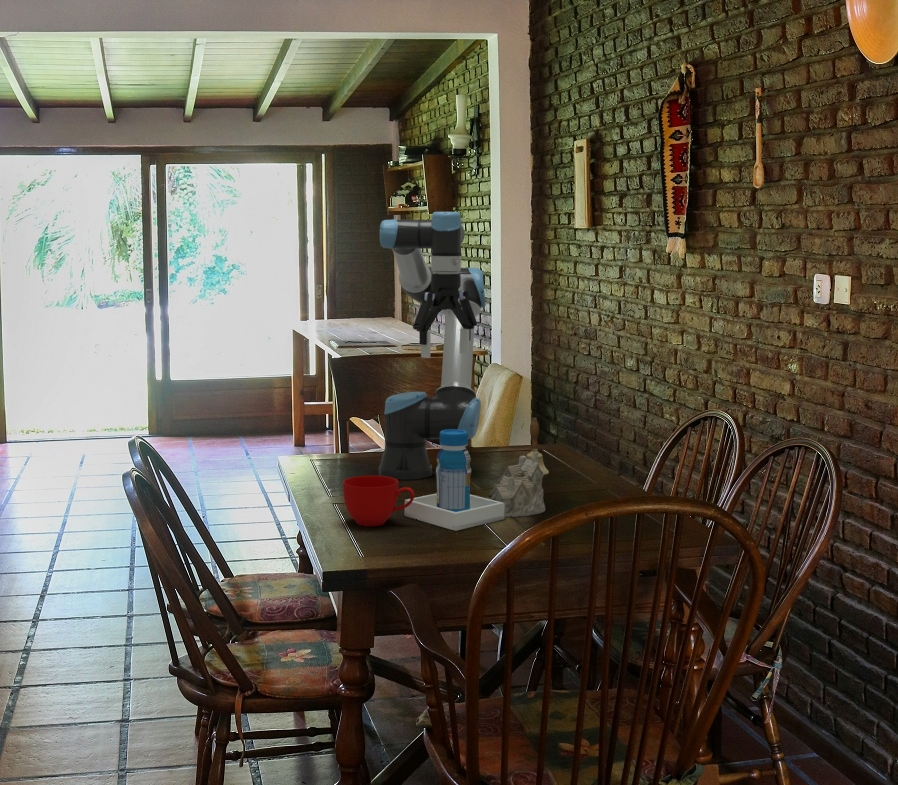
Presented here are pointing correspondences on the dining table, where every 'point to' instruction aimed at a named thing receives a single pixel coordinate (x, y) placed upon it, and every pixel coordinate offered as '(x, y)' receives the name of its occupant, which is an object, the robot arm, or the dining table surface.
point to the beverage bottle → (453, 471)
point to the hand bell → (534, 435)
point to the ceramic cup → (372, 498)
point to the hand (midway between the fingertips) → (445, 355)
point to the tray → (476, 515)
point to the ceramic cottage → (521, 488)
